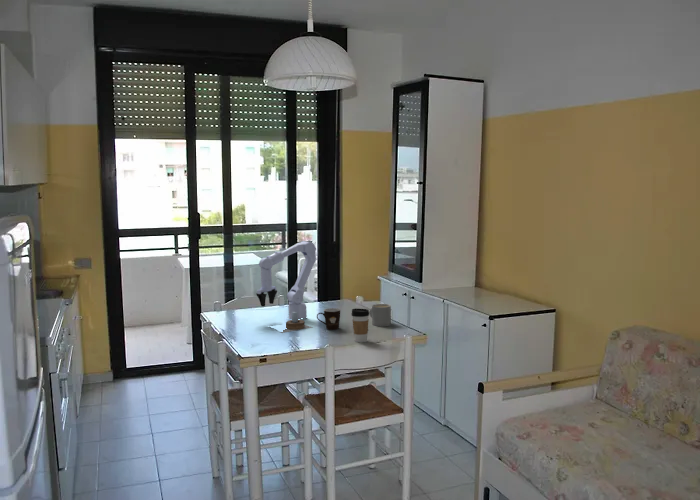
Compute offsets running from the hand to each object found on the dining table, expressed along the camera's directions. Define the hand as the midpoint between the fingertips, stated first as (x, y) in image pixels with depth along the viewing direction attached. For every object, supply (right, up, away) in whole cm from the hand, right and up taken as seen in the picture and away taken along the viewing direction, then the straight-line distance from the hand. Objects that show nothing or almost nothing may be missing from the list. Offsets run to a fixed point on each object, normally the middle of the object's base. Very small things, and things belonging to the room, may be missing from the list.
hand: (267, 304), depth 312 cm
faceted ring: (+16, -11, -12) cm, 23 cm away
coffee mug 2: (+61, -10, -6) cm, 62 cm away
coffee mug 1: (+34, -11, -15) cm, 39 cm away
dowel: (+16, -11, -12) cm, 23 cm away
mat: (+13, -11, -11) cm, 20 cm away
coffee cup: (+50, -13, -40) cm, 65 cm away
